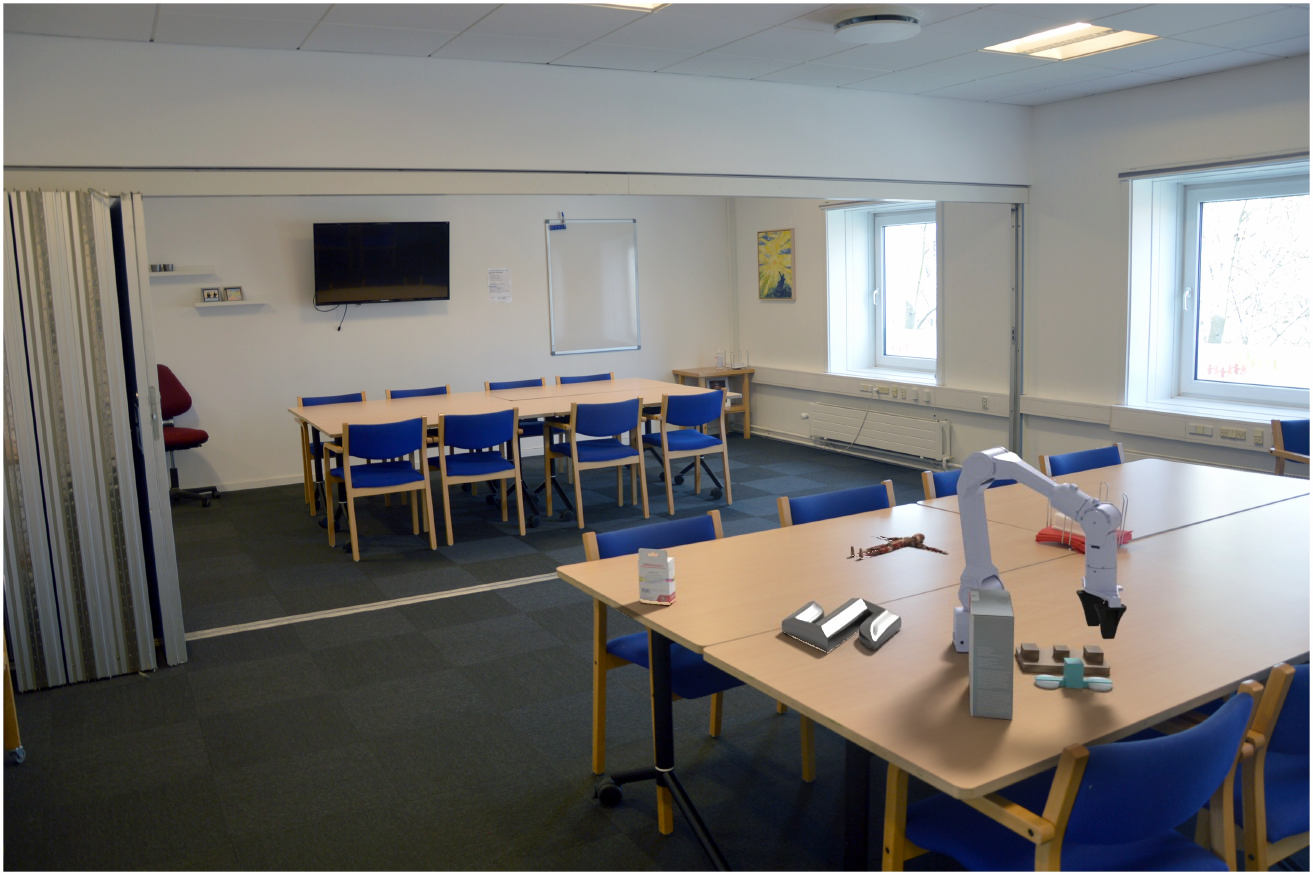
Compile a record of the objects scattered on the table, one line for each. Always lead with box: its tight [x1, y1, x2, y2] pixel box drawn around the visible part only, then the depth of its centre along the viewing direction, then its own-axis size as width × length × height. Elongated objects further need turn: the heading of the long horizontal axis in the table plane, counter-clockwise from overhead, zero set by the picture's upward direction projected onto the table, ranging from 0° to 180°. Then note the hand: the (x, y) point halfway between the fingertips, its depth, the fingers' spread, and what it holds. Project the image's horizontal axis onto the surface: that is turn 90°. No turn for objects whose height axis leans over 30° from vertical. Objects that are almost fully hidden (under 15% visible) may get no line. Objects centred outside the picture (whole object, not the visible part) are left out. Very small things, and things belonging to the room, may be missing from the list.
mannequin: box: [850, 532, 949, 558], centre depth 297 cm, size 26×29×4 cm
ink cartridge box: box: [637, 547, 677, 603], centre depth 248 cm, size 9×5×15 cm, turn 68°
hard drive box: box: [968, 588, 1015, 720], centre depth 181 cm, size 16×8×20 cm, turn 163°
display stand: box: [1015, 642, 1111, 676], centre depth 199 cm, size 16×10×4 cm, turn 79°
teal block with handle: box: [1034, 658, 1113, 692], centre depth 189 cm, size 14×5×5 cm, turn 79°
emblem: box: [781, 597, 902, 652], centre depth 223 cm, size 28×5×28 cm
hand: (1100, 631), depth 190 cm, fingers open, 7 cm apart
